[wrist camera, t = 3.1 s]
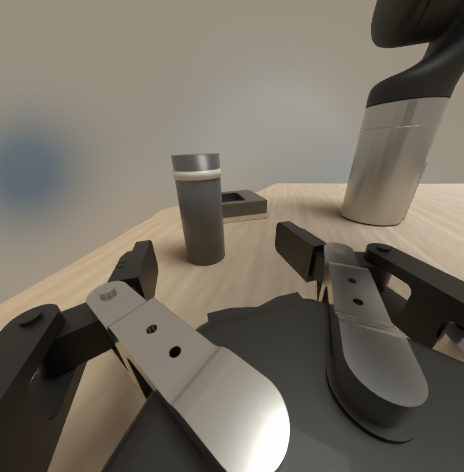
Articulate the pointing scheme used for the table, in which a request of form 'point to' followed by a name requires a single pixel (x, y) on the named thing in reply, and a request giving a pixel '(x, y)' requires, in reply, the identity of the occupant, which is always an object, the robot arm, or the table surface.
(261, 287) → the table surface
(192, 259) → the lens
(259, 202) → the dark rectangular frame
